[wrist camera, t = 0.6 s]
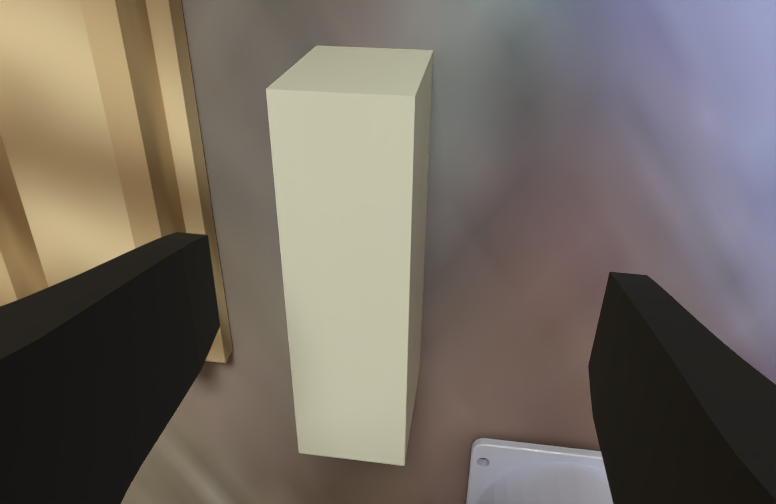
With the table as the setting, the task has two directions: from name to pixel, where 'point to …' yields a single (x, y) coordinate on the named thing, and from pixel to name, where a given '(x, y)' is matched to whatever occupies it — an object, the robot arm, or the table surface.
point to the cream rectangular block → (353, 242)
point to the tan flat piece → (97, 141)
